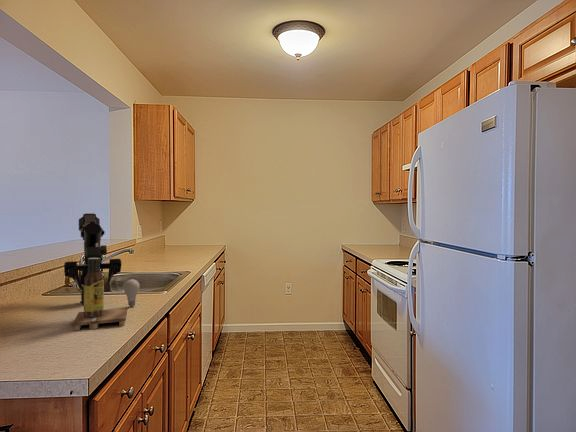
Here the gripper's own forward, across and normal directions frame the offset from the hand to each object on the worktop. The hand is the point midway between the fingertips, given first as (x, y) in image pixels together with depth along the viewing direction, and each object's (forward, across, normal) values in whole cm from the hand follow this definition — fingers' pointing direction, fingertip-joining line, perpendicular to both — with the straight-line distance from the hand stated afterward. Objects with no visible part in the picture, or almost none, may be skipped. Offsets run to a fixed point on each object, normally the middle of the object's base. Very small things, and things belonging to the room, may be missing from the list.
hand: (94, 286), depth 141 cm
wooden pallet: (+12, +2, +5) cm, 13 cm away
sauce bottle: (+10, 0, +3) cm, 11 cm away
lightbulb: (0, +14, +17) cm, 22 cm away
